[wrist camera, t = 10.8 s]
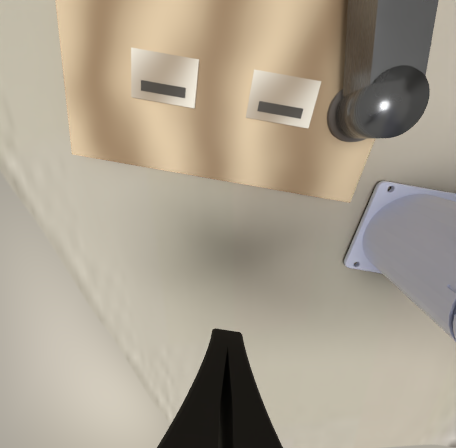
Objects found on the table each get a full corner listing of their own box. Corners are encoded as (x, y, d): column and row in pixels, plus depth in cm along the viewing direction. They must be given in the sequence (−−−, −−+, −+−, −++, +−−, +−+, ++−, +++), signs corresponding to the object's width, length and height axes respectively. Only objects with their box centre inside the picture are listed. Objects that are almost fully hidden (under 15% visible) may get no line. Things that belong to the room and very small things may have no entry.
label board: (468, -133, 11) (509, -182, 9) (343, 198, 18) (353, 204, 16) (50, -211, 11) (15, -275, 9) (82, 153, 17) (66, 154, 16)
